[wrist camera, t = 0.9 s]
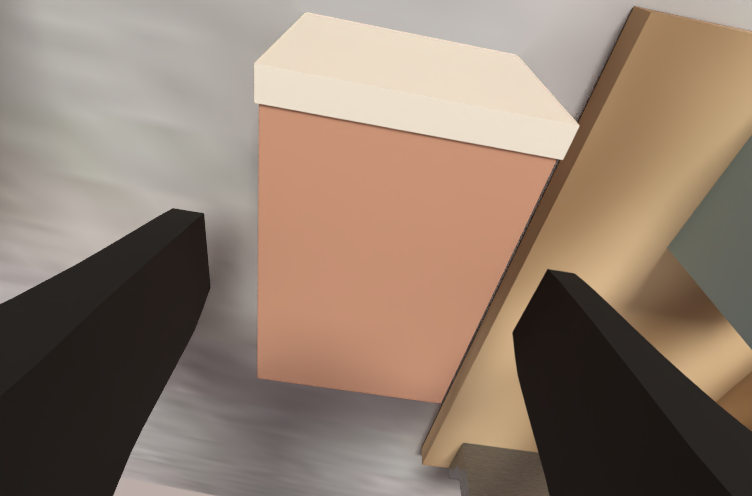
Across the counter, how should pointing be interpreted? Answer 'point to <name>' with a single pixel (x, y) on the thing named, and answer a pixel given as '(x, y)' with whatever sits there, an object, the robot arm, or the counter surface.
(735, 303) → the pale blue cube
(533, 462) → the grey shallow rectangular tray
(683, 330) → the shelf
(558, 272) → the robot arm
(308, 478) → the counter surface
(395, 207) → the boxed book
